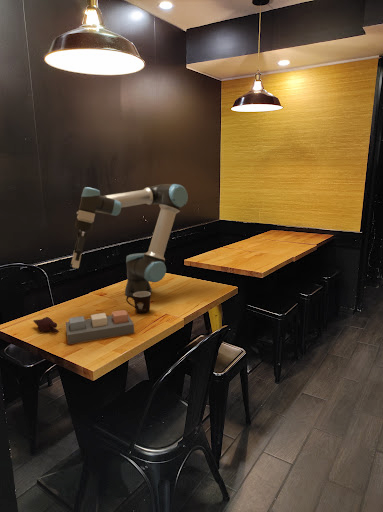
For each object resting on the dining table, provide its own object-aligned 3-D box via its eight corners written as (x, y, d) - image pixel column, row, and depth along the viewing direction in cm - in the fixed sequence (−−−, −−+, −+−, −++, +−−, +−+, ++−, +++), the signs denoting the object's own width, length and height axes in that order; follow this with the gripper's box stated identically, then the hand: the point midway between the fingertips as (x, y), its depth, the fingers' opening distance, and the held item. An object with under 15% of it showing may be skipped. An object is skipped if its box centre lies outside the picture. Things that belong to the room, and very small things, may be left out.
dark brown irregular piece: (24, 319, 161) (49, 328, 154) (38, 309, 167) (62, 318, 160) (29, 331, 164) (53, 340, 158) (42, 321, 170) (65, 330, 163)
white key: (105, 321, 162) (104, 312, 161) (107, 326, 157) (106, 317, 156) (91, 323, 160) (90, 314, 159) (93, 328, 155) (92, 319, 154)
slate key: (84, 324, 159) (83, 315, 158) (85, 330, 154) (84, 321, 153) (69, 326, 157) (68, 318, 156) (70, 332, 152) (69, 323, 151)
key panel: (127, 322, 171) (127, 312, 170) (134, 335, 158) (133, 324, 157) (66, 332, 161) (65, 322, 160) (68, 346, 148) (67, 335, 147)
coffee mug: (155, 312, 183) (154, 293, 181) (143, 318, 176) (142, 298, 174) (137, 307, 189) (136, 289, 187) (125, 313, 182) (124, 294, 180)
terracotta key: (125, 318, 166) (125, 309, 165) (128, 323, 160) (127, 314, 159) (112, 320, 163) (111, 311, 163) (114, 325, 158) (114, 316, 157)
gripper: (75, 219, 180) (65, 261, 180) (77, 219, 157) (66, 267, 157) (90, 222, 183) (81, 264, 183) (95, 223, 159) (84, 271, 160)
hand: (74, 266), depth 170 cm, fingers open, 13 cm apart
